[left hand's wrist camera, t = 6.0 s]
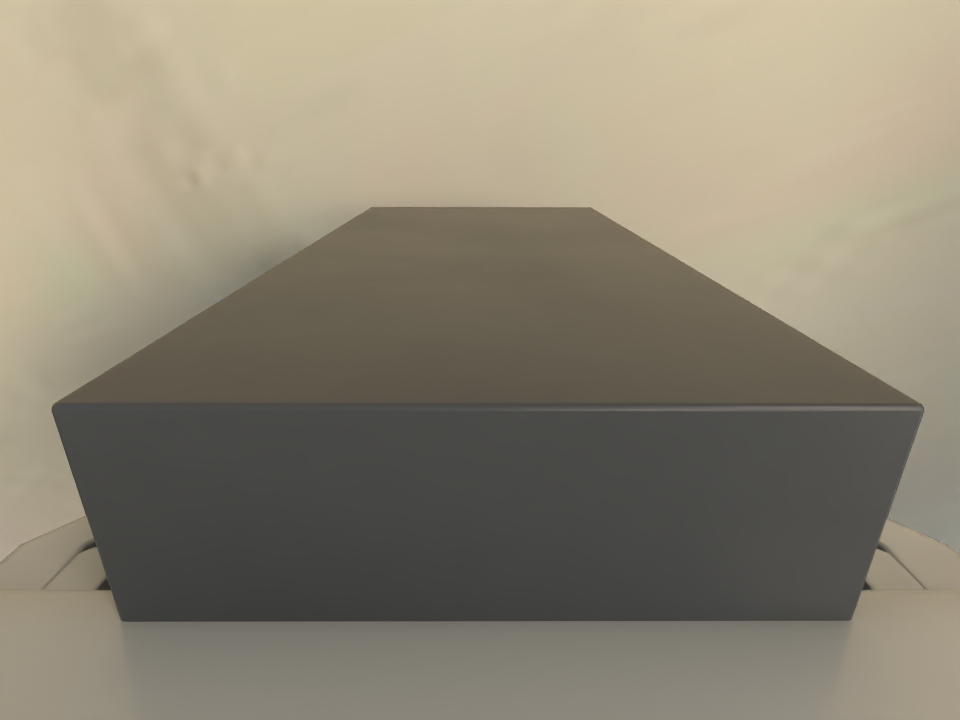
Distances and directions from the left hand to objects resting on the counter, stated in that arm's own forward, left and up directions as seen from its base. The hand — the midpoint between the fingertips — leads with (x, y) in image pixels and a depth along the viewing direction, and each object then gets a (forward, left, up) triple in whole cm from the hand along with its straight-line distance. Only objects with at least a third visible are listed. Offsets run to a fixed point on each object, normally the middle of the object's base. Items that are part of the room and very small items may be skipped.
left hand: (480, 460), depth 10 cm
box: (+10, 0, -7) cm, 12 cm away
